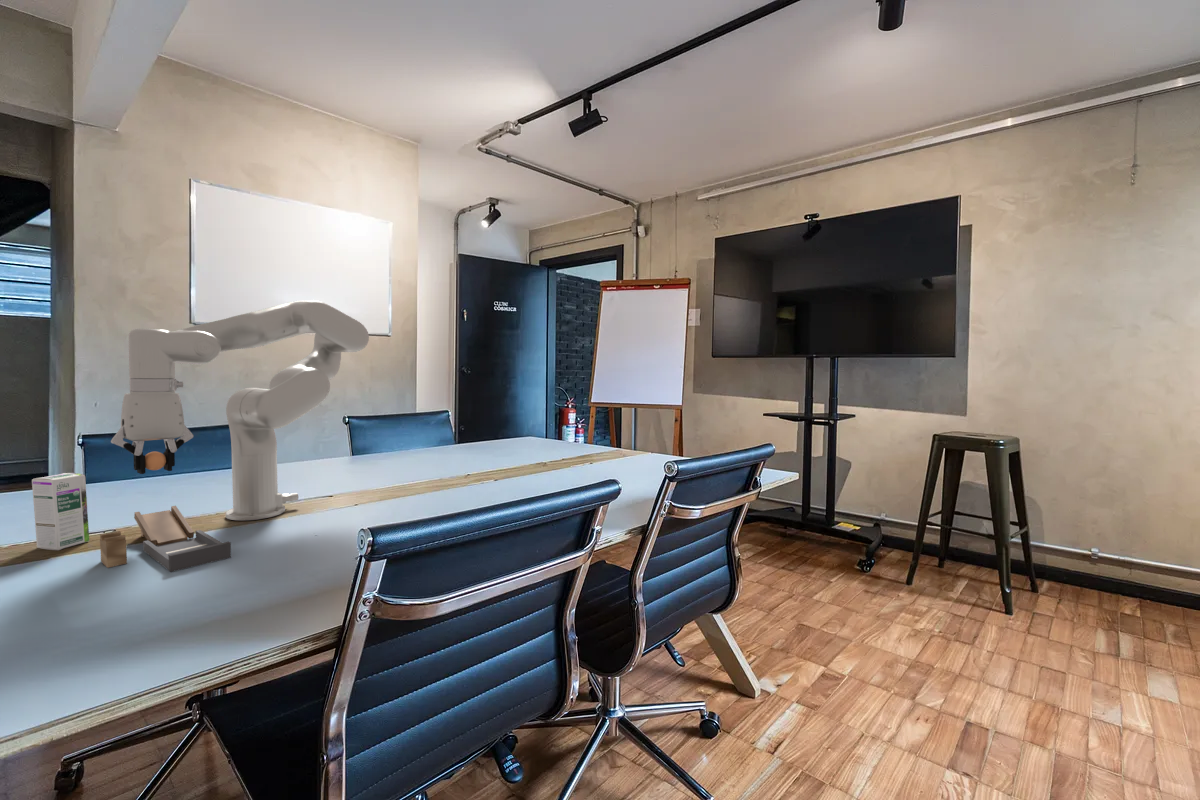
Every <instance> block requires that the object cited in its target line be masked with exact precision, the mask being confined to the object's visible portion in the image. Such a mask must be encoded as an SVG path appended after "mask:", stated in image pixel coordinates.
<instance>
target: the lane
mask: <svg viewBox="0 0 1200 800" xmlns="http://www.w3.org/2000/svg"><path fill="white" fill-rule="evenodd" d="M231 545H232V542H230V541H229V540H228V541H225V542H222V541H220V540H218V539H217V538H215V537H213V536H211V535H210V534H208V533H206V532H205V531H203V530H201V529H198V530H197V529H196V530H195V537H194V538H190V539H189V538H188V540H183V541H178V542H174V543H169V544H164V545H159V546H157V545H156V546H155V545H154V544H153V543H151V542H150V541H148V540H147V539H146V540H143V541H142V546H143V547H142V549H143V550H142V551H143V552H144V553H145V554H147V555H148V556H149V557H150V558H152V559H153V560H154V561H156V562H158V563H159V564H160V565H161V566H162V567H163V568H165V569H166V570H167V571H169V572H170V573H172V572H173V573H174V572H177V571H181V570H185V569H189V568H193V567H198V566H202V565H205V564H209V563H213V562H218V561H223V560H226V559H230V558H232V548H231Z"/></svg>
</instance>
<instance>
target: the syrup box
mask: <svg viewBox="0 0 1200 800" xmlns="http://www.w3.org/2000/svg"><path fill="white" fill-rule="evenodd" d="M86 483H87V482H86V474H83V473H80V472H79V473H76V472H67V473H66V472H63V473H59V474H53V475H49V476H44V477H43V476H42V477H36V478H33V479H31V486H32V487H31V489H32V500H33V512H34V524H35V525H34V527H35V540H36V548H38V549H43V550H50V551H60V550H63V549H67V548H71V547H74V546H77V545H80V544H84V543H87V542H88V543H89V542H90V531H89V530H90V529H89V517H88V497H87V484H86Z"/></svg>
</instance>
